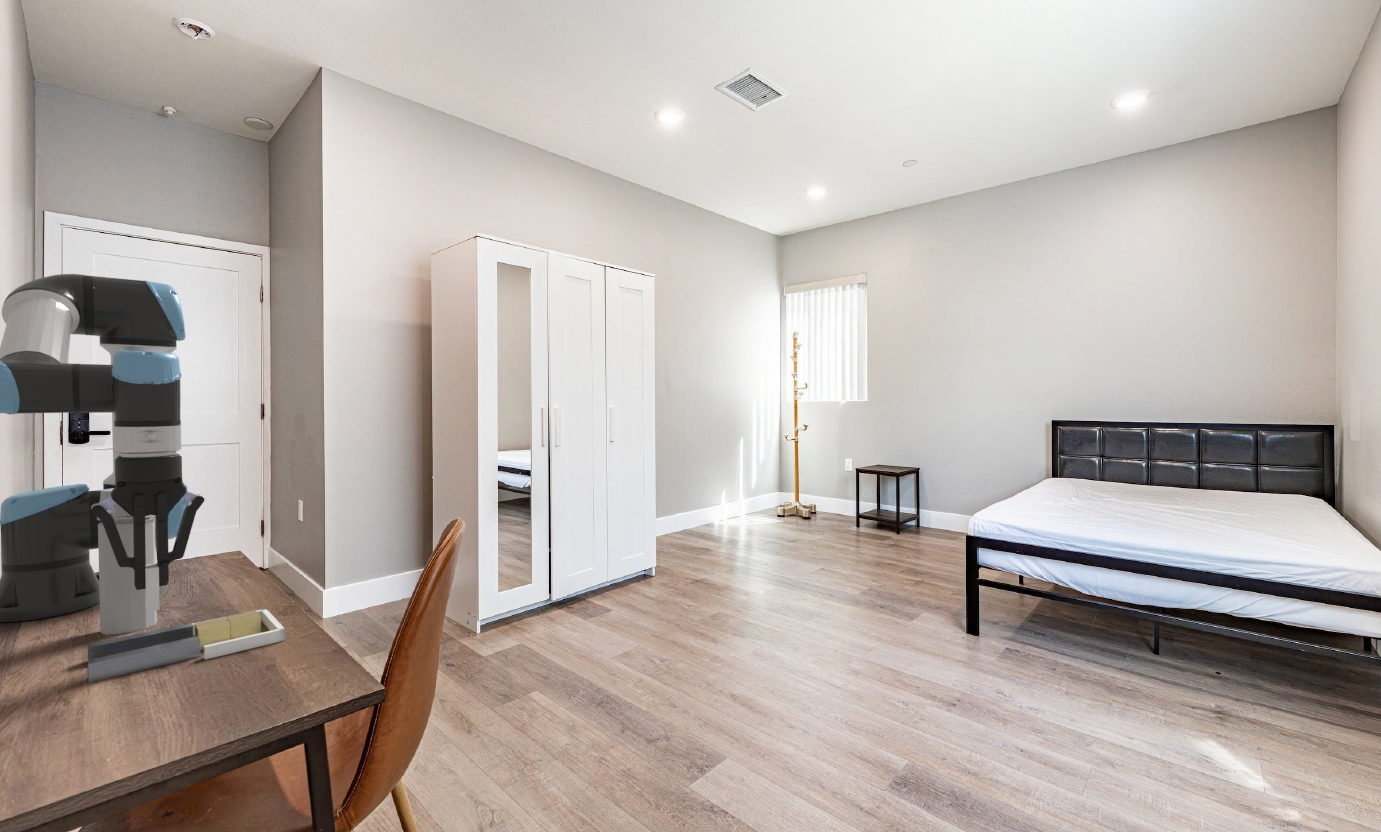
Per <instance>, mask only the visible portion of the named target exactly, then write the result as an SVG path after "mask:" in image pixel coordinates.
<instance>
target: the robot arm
mask: <svg viewBox="0 0 1381 832" xmlns="http://www.w3.org/2000/svg"><path fill="white" fill-rule="evenodd" d="M1 317H2V319H3V322H4V323H5V324H6V326H5V328H4V333H3V335H2V339H1V344H0V414H7V415H9V416H11V415H16V414H63V413H64V414H66V413H70V414H71V413H75V414H77V413H81V414H82V413H87V414H89V413H91V414H92V413H93V414H97V413H105V414H106V413H111V425H112V426H111V431H112V458H113V459H112V467H113V469H112V470H113V471H112V473H111V474H110V475H108V476H107V477H106V478H104V480H103V481H102V482H103V483H102V487H103V488H102V489H99V490H90V487H89V486H88V485H87V484H86V483H77V484H67V485H60V486H54V487H46V488H41V489H35V490H31V491H27V492H22V493H21V492H20V493H16V494H14V495H10V496H8V497H7V498H5V499H4V500H3V501H2V503H1V504H0V553H1V554H0V559H1V560H0V561H1V563H0V564H1V574H0V575H1V576H0V623H10V622H12V623H13V622H24V621H32V620H33V621H34V620H39V619H46V618H50V617H56V616H62V615H65V614H69V613H73V612H77V611H81V610H84V609H88V608H90V607H92V606H95V605H98V604H100V591H99V578H98V577H97V575H96V573H95V571H94V569H93V567H92V565H91V561H90V558H91V557H90V550H96V549H98V524H99V523H101V522H102V523H103V526H104V528H105V531H106V534H107V536H108V539H109V542H110V544H111V547H112V550H113V552H114V555H115V557H116V560H117V563H118V565H119V566H120V567H130V568H133V569H134V585H135V588H136V589H137V590H141V589H145V609H146V612H149V611H154V610H157V611H160V610H161V609H160V608H161V607H160V606H161V605H160V597H159V590H160V586H164V587H165V586H168V584H169V581H170V580H169V578H170V577H169V576H170V575H169V566H170V564H171V563H172V562H174V561H177V560H181V559H182V558H184V556H185V552H186V549H187V546H188V541H189V538H190V535H191V532H192V528H193V525H194V521H195V517H196V514H197V511H198V510H199V509H200V508H201V506H202V505H203V504H204V502H205V498H204V496H203V495H201V494H198V493H193V492H191V491H189V489H188V485H187V484H186V483H184V481H183V459H182V457H183V456H182V455H181V454H180V453H177V452H179V451H181V450H182V423H181V422H182V421H181V379H182V372H181V368H180V359H179V356H178V355H177V354H176V353H173V352H174V351H176V350H177V342H178V341H179V342H181V341H184V340H185V339H186V329H185V319H184V315H183V309H182V304H181V300H180V297H179V294H178V291H177V290H176V289H175V287H173V286H171V284H166V283H161V282H154V281H149V280H139V279H126V278H119V277H118V278H117V277H116V278H115V277H105V276H96V275H95V276H94V275H85V274H78V273H63V274H54V275H53V274H52V275H48V276H44V277H40V278H37V279H34V280H31V281H29V282H26V283H23V284H22V285H20V286H18V287H17V288H15V289H14V290H12V291H11V292H10V293H9V294H8V295H7V296H6V297H5V299H4V302H3V304H2V308H1ZM71 335H81V336H95V337H99V346H100V347H101V348H103V349H104V350H105V351H106V352H107V353H109V355H110V364H97V363H95V364H93V363H92V364H91V363H89V364H88V363H85V364H84V363H69V355H70V354H69V353H70V345H71V344H70V343H71ZM110 488H114V489H113V490H112V492H111V497H109V498H107V499H105V500H104V501H102V502H100V494H101V490H104V489H110ZM115 503H117V504H118V505H119V506H120V507H121V508H122V509H124V510H125V511H126V512H127V513H128V514H129V515H131V516H133V546H134V558H133V557H128V556H127V554H126V551H125V548H124V546H123V543H122V540H121V538H120V535H119V532H118V529H117V527H116V524H115V521H114V519H113V517H112V515H111V514H112V513H114V511H115V509H114V504H115ZM148 515H155V518H156V522H155V523H156V547H155V551H156V550H157V554H156V564H149V565H146V547H145V516H148ZM97 517H98V518H99V519H100V520H97ZM172 539H175V540H174V544H173V547H172V550H171V551H169V540H172Z"/></svg>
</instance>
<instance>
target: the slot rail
mask: <svg viewBox="0 0 1381 832" xmlns="http://www.w3.org/2000/svg"><path fill="white" fill-rule="evenodd" d="M192 624H193V623H192V622H189V623H184V624H180V625H175V626H174V625H173V626H169V627H165V628H159V629H156V630H155V629H154V630H150V631H144V632H140V633H135V634H131V635H126V636H121V637H116V638H111V639H106V640H101V641H96V642H91V643H87V644H86V645H87V646H86V647H87V650H86V651H87V670H88V672H87V673H88V683H93V682H96V681H97V682H98V681H102V680H106V679H110V678H115V677H118V676H123V675H127V674H131V673H136V672H141V671H144V670H148V669H152V668H157V667H161V666H165V665H169V664H173V663H179V662H181V661H182V662H183V661H185V660H186V661H187V660H190V659H195V658H199V657H201V650H200V638H199V636H196V637H195V636H193V625H192Z"/></svg>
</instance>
